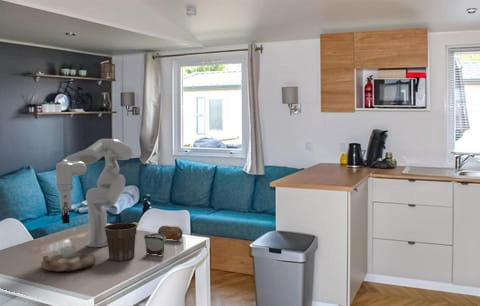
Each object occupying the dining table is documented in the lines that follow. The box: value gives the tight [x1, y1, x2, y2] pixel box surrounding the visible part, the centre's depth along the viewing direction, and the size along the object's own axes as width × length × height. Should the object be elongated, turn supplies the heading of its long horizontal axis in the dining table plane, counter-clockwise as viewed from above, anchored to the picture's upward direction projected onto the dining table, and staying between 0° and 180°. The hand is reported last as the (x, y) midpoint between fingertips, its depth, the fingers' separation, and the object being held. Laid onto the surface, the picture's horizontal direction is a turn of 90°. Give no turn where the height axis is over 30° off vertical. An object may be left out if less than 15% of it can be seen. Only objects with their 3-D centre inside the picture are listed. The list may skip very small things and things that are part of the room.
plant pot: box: [104, 222, 138, 262], centre depth 231 cm, size 16×16×16 cm
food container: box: [143, 232, 166, 256], centre depth 237 cm, size 12×6×10 cm, turn 65°
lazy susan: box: [41, 252, 96, 272], centre depth 218 cm, size 24×24×4 cm
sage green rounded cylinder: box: [59, 245, 77, 259], centre depth 224 cm, size 7×7×4 cm
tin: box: [157, 225, 183, 241], centre depth 263 cm, size 15×3×8 cm, turn 67°
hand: (65, 221), depth 230 cm, fingers open, 9 cm apart
